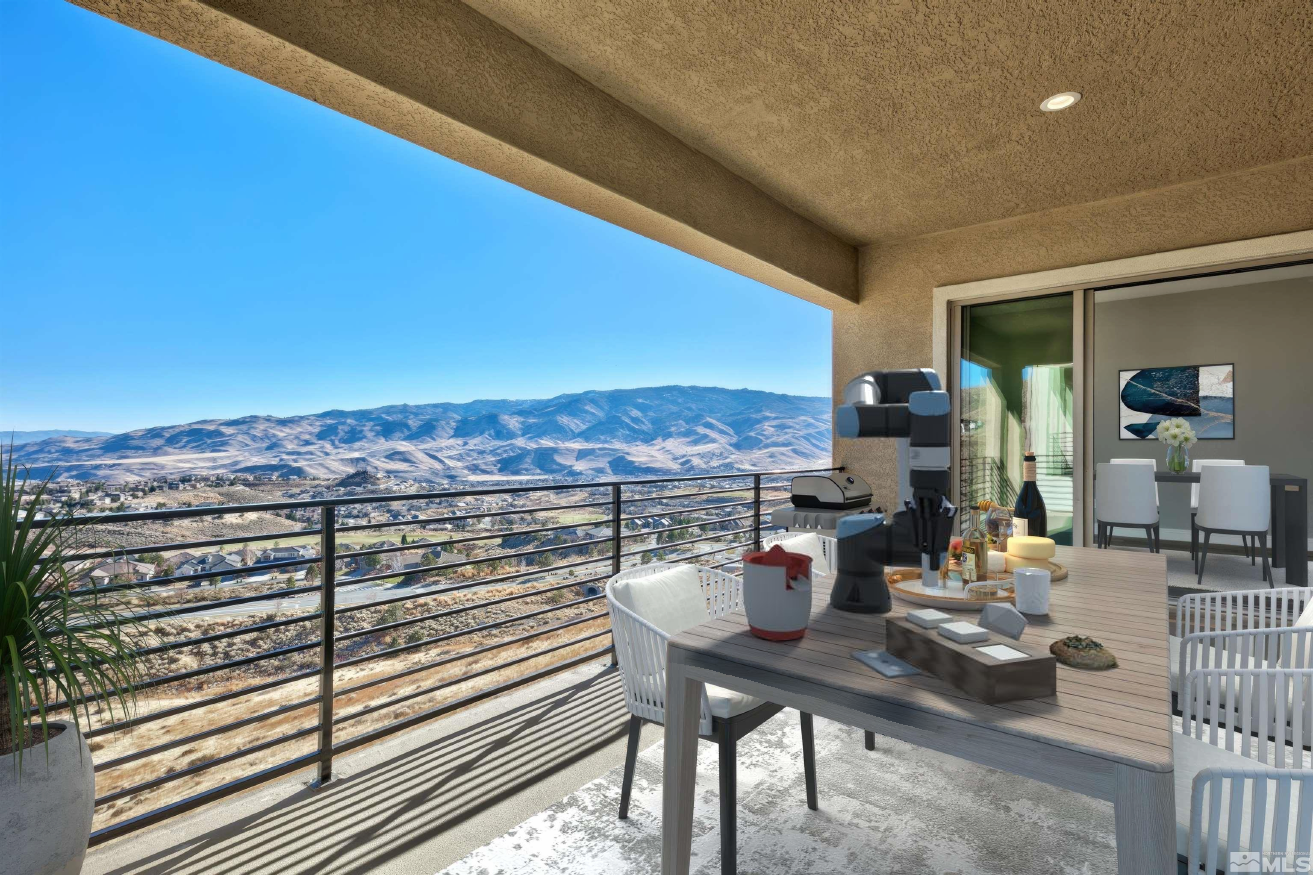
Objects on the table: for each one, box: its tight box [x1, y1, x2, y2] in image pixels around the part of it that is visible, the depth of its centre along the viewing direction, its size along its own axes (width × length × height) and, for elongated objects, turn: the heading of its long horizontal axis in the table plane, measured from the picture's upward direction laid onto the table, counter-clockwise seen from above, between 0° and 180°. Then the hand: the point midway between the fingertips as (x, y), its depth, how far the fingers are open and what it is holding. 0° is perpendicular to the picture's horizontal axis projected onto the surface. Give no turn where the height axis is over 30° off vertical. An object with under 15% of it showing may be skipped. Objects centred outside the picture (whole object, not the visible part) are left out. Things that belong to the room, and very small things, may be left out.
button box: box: [885, 612, 1057, 706], centre depth 117 cm, size 27×14×6 cm, turn 16°
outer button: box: [974, 645, 1030, 661], centre depth 109 cm, size 6×6×3 cm
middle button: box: [938, 621, 989, 643], centre depth 117 cm, size 6×6×3 cm
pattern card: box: [850, 649, 922, 679], centre depth 121 cm, size 12×7×1 cm, turn 16°
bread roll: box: [1048, 634, 1119, 669], centre depth 122 cm, size 11×11×5 cm
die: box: [976, 602, 1029, 642], centre depth 134 cm, size 8×9×10 cm
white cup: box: [1013, 566, 1052, 616], centre depth 155 cm, size 8×8×10 cm
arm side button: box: [906, 608, 953, 628], centre depth 126 cm, size 6×6×3 cm
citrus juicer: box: [741, 543, 814, 642], centre depth 139 cm, size 16×17×20 cm
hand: (930, 585), depth 126 cm, fingers closed
